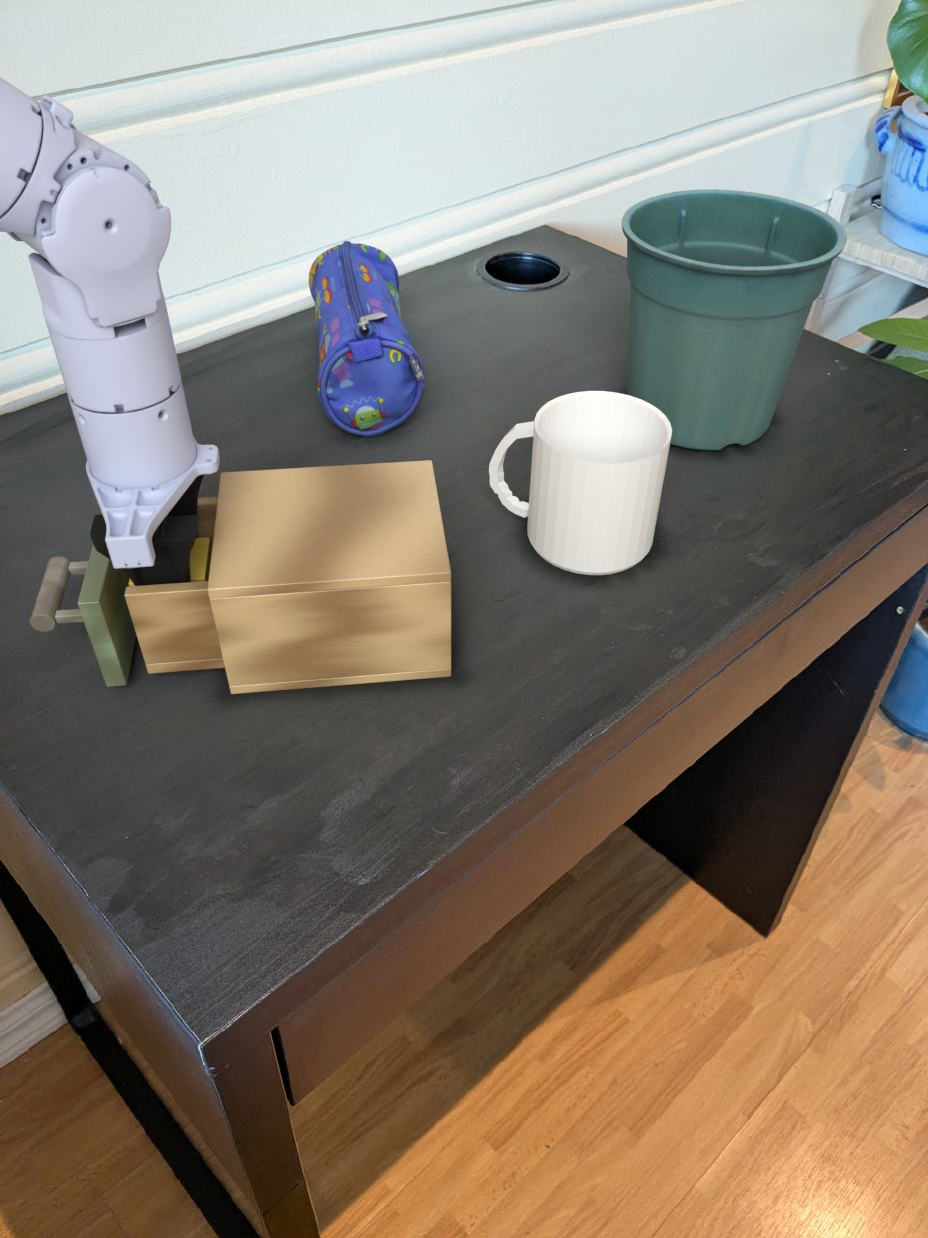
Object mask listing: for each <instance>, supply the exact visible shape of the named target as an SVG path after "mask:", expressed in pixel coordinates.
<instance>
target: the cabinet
mask: <svg viewBox="0 0 928 1238" xmlns="http://www.w3.org/2000/svg"><path fill="white" fill-rule="evenodd" d="M219 475H220V476H219V485H218V492H217V493H218V494H217V497H218V501H217V510H216V519H215V527H214V536H213V545H212V553H211V562H210V570H209V579H208V588H207V591H208V595H209V600H210V604H211V609H212V613H213V617H214V622H215V626H216V631H217V635H218V639H219V644H220V648H221V652H222V657H223V661H224V666H225V668H224V670H225V674H226V679H227V683H228V687H229V691H230V694H231V695H239V694H252V693H263V692H276V691H287V690H288V691H289V690H299V689H301V690H303V689H310V688H311V689H313V688H314V689H315V688H324V687H337V686H338V687H339V686H350V685H363V684H375V683H376V684H377V683H386V682H387V683H388V682H398V681H399V682H400V681H411V680H424V679H425V680H426V679H437V678H438V679H439V678H450V677H451V676H452V570H451V563H450V559H449V552H448V548H447V547H448V546H447V540H446V535H445V528H444V523H443V515H442V511H441V505H440V501H439V494H438V488H437V482H436V475H435V471H434V464H433V461H432V459H427V460H426V459H425V460H412V461H396V462H377V463H376V462H375V463H362V464H360V463H359V464H344V465H343V464H342V465H341V464H340V465H328V466H327V465H325V466H310V467H309V466H308V467H294V468H293V467H291V468H277V469H275V468H273V469H258V470H241V471H223V472H220V474H219Z"/></svg>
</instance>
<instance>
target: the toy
mask: <svg viewBox="0 0 928 1238" xmlns="http://www.w3.org/2000/svg"><path fill="white" fill-rule="evenodd" d="M211 553H212V545H211V540H210V537H205V538H196V539H195V542H194V545H193V548H192V550H191V552H190V577H191V582H200V581H208V579H209V570H210V562H211ZM129 586H135V585H134V584H133V582H132V581H131V579H129Z"/></svg>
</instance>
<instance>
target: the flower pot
mask: <svg viewBox="0 0 928 1238" xmlns="http://www.w3.org/2000/svg"><path fill="white" fill-rule="evenodd" d="M621 230H622V233H623V235H624V237H625V239H626V274H627V278H628V280H629V283H630V285H629V287H630V288H629V319H628V320H629V321H628V349H627V350H628V353H627V382H626V383H627V385H626V395H629V396H632V397H635V398H638V399H641V400H643V401H645V402H648V403H650V404H651V405H653V406H654V407H656V408H657V409H659V410H660V411H661V412H662V413H663V414H664V415H665V416H666V417H667V419H668V420H669V422H670V424H671V428H672V435H671V442H670V445H672V446H675V447H678V448H679V447H680V448H683V449H689V450H700V451H721V450H722V449H723V448H725V447H727V446H729V445H734V444H737V445H739V446H741V447H742V446H746V445H749V444H752V443H754V442H755V441H757V440H758V439H760V438H761V437H762V436H763V435H764V434H765V433H766V432H767V430H768V429H769V427H770V425H771V423H772V420H773V417H774V414H775V411H776V409H777V405H778V402H779V399H780V397H781V394H782V391H783V388H784V385H785V383H786V379H787V377H788V374H789V371H790V368H791V366H792V362H793V360H794V357H795V354H796V351H797V348H798V345H799V343H800V339H801V337H802V334H803V332H804V329H805V327H806V324H807V322H808V318H809V315H810V313H811V310H812V307H813V304H814V302H815V301H816V300H817V299H818V297H820V295H821V293H822V290H823V288H824V285H825V282H826V280H827V277H828V275H829V271H830V269H831V267H832V263H833V261H834V260H835V259H836V258H837V257H839V256H840V254H841V253H842V252H843V250H844V249H845V247H846V245H847V243H848V242H847V241H848V234H847V232H846V230H845V228H844V227H843V226H842V224H840V222H839V221H838V220H837V219H836V218H834V217H832V216H831V215H830V214H828V213H826V212H825V211H822V210H820V209H818V208H816V207H813V206H811V205H808V204H805V203H802V202H800V201H795V200H792V199H789V198H785V197H782V196H777V195H776V196H775V195H771V194H766V193H759V192H754V191H744V190H736V189H735V190H734V189H713V188H712V189H709V188H708V189H690V190H689V189H688V190H679V191H671V192H667V193H663V194H659V195H655V196H651V197H648V198H646V199H644V200H640V201H639V202H637V203H635V204H633V205H632V206H630V207H629V208H628V209H627V210H626V211H625V212H624V213H623V216H622V218H621Z"/></svg>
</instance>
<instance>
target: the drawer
mask: <svg viewBox="0 0 928 1238" xmlns="http://www.w3.org/2000/svg"><path fill="white" fill-rule="evenodd" d="M217 501H218V496H211V497H198V506H197V515H200V519H199V526H198V538H205V537H210V540H211V545H213V536H214V527H215V519H216V510H217ZM100 514H102V512H101V511H100ZM79 575H84V577H83V580H82V583H81V584H82V585H81V589H80V592H79V596H78V600H77V606H78V608H71V609H69V608H68V609H62V603H63V600H64V597H65V593H66V590H67V587H68V582H69V579H70V576H79ZM129 579H130V578H129V577H128V576H127V575H126V573H125V572H124V571H123V570H122V569H121V568H119V569H114V567H113V564H112V561H111V560H110V559H109V558H107V557H105V556H104V555H102V554H101V553H99V552H97V550H96V549H95V547H94V545H93V544H92V547H91V551H90V554H89V558H88V560H82V561H71V560H69V559H68V558H66V557H64V556H61V555H60V556H59V555H56V556H52V557H50V558H49V559H48V562H47V565H46V568H45V571H44V574H43V577H42V580H41V584H40V586H39V590H38V593H37V597H36V599H35V602H34V606H33V609H32V612H31V616H30V618H29V624H30V626H31V627H32V628H33V629H34V630H36V631H38V632H42V633H47V632H51V631H53V630H54V629H55V628H56V625H57V624H58V625H59V624H71V623H72V624H73V623H83V624H84V627H85V629H86V633H87V635H88V638H89V641H90V643H91V646H92V649H93V652H94V655H95V657H96V659H97V663H98V666H99V668H100V671H101V674H102V677H103V680H104V683H105V686H106V687H107V688H111V687H124V686H127V685H128V681H129V675H130V670H131V665H132V658H133V655H134V649H135V643H136V638H137V641H138V645H139V648H140V651H141V654H142V657H143V660H144V664H145V668H146V672H147V674H148V675H149V674H150V675H151V674H164V673H175V672H176V673H177V672H189V671H201V670H214V669H225V666H224V661H223V657H222V652H221V648H220V644H219V639H218V635H217V631H216V626H215V622H214V617H213V613H212V609H211V604H210V600H209V595H208V591H207V588H208V581H200V582H186V583H171V584H157V585H142V586H129Z"/></svg>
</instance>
